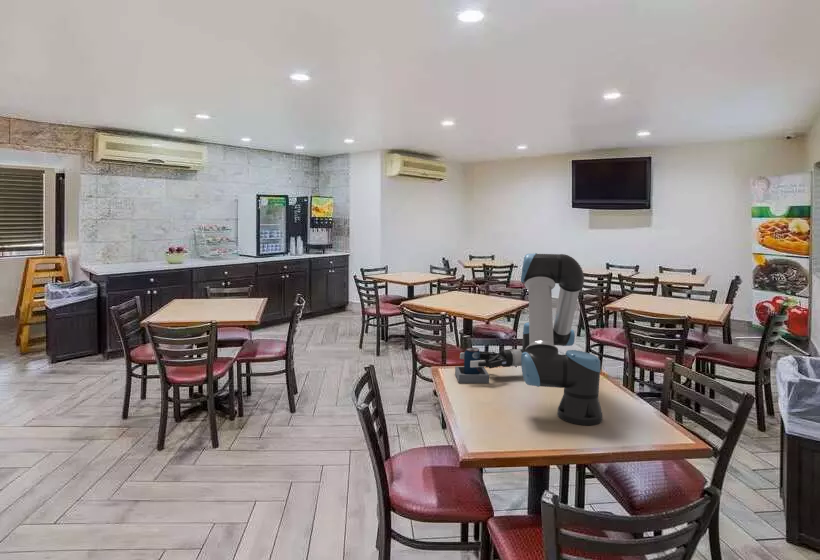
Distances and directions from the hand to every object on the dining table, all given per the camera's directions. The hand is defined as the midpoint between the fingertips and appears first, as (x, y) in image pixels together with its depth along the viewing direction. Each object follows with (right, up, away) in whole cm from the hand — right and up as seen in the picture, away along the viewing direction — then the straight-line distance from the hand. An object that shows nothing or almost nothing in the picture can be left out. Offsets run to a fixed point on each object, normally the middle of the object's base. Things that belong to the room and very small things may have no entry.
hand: (465, 359), depth 219 cm
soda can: (+3, -7, +2) cm, 8 cm away
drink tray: (+3, -8, +2) cm, 9 cm away
